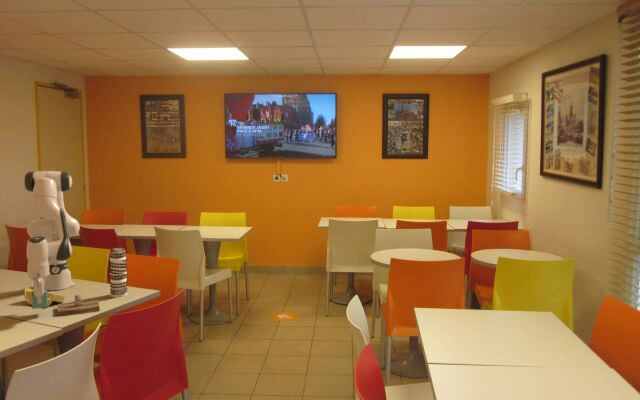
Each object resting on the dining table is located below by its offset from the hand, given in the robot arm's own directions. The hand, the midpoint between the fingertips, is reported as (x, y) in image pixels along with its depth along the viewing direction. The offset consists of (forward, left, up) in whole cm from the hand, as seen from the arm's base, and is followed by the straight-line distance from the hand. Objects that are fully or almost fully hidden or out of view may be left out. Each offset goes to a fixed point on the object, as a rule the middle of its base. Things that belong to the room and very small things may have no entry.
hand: (40, 300), depth 234 cm
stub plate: (-1, +16, -7) cm, 17 cm away
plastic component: (-21, +1, -7) cm, 22 cm away
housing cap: (0, 0, -3) cm, 3 cm away
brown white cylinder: (-19, +36, -7) cm, 42 cm away
